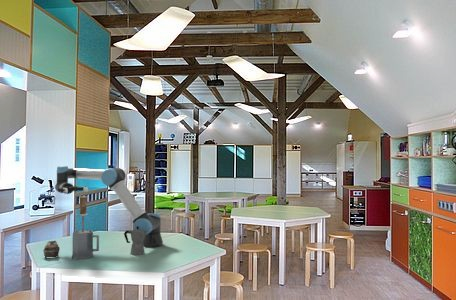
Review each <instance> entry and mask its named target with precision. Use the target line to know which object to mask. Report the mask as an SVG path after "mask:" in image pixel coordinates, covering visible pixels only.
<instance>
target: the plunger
mask: <svg viewBox="0 0 456 300" xmlns="http://www.w3.org/2000/svg"><path fill="white" fill-rule="evenodd" d="M78 198H79V213H77V216H79V217H81V230H82V231H79V230H77V231H78V232H76V233H88V232H90V231H84V230H85V217H86V216H89V213H87V199H88V196H85V195H84V196H79V197H78Z"/></svg>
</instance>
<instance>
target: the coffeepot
mask: <svg viewBox="0 0 456 300" xmlns="http://www.w3.org/2000/svg"><path fill="white" fill-rule="evenodd" d="M147 232H148V231H146V230H141V229H139V227H138V226H137V229H136V230H135V229H132V230H131V229H130V230H125V231H124V233H123V235H124V239H125V241H126V243H127V244H130V243H131V242H132V244H131V248H130V252H129V254H130V255H132V256H140V255H141V256H142V255H144V254H145V252H146V251H145V247H144V245H143V240H144V236H145V234H146V233H147ZM128 234H130V237H131V241H129V238H128Z"/></svg>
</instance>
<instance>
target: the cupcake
mask: <svg viewBox="0 0 456 300" xmlns="http://www.w3.org/2000/svg"><path fill="white" fill-rule="evenodd" d="M59 253H60V246H59V244H58V242H57V241H56V240H52V241H47V243H46V244H45V246H44V248H43V256H45V257H56V256H58V257H59ZM45 257H44V258H45ZM56 258H57V257H56Z"/></svg>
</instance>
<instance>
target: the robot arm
mask: <svg viewBox="0 0 456 300" xmlns="http://www.w3.org/2000/svg"><path fill="white" fill-rule="evenodd" d="M126 176H127V175H126V172H125V170H123V168H120V167H115V168H111V167H110V168H106V169H95V168H94V169H93V168H91V169H90V168H76V167H72V168H71V167H70V168H69V166H67V165H59V166H57V167H56V183H55V186H54V189H55V191H56V192H58V193H59V194H60V193H61V194H64V195H66V194H67V195H70V194H71V193H73V192H79V191H80V192H82V191H83V192H87V193H88V192H89V187H88V186H86V185H84V186H79V185H78V186H75V185H73V183H70V182H69V179H80V180H81V179H82V180H83V179H84V180H98V181H99V180H100V181H101V182H102V184H104V185H105V186H107V187H108V188H109V189H110V191H113V192H114V193H115V194H116V196H117V198H118V199H119V200H120V202H121V203H122V204H123V206H124V207H125V209H126V211H127V212H128V213H129V215H130V217H131V218H132V220H131V222H132V224H133V228H134V229H133V230H136V229H137V226H138V227H139V229H141V230H146V231H148V232H147V233H146V234H145V236H144V240H143V245H144V248H145V247H146V248H157V247H162V246H163V245H164V240H163V237H162V234H161V231H162V230H161V223H162V222H161V220H162V217H161V214H160V213H148V212H147V211H144V210H143V209H142V207H141V206H140V204H139V203H138V201H137V200H136V198H135V197H134V196H133V194H132V192H131V191H130V190H129V188H128V187H127V185H126Z"/></svg>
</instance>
